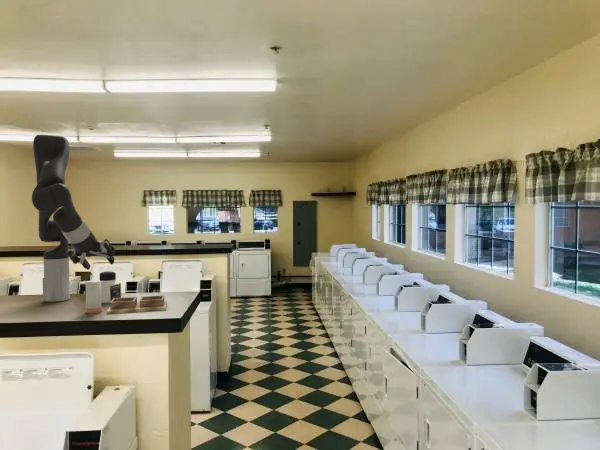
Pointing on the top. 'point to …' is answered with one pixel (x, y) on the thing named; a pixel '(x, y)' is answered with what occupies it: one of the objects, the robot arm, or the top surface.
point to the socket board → (137, 304)
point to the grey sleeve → (93, 297)
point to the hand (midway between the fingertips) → (100, 265)
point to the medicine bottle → (109, 287)
